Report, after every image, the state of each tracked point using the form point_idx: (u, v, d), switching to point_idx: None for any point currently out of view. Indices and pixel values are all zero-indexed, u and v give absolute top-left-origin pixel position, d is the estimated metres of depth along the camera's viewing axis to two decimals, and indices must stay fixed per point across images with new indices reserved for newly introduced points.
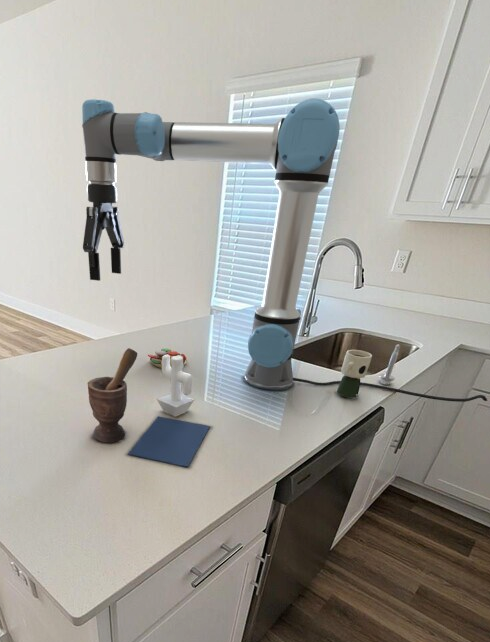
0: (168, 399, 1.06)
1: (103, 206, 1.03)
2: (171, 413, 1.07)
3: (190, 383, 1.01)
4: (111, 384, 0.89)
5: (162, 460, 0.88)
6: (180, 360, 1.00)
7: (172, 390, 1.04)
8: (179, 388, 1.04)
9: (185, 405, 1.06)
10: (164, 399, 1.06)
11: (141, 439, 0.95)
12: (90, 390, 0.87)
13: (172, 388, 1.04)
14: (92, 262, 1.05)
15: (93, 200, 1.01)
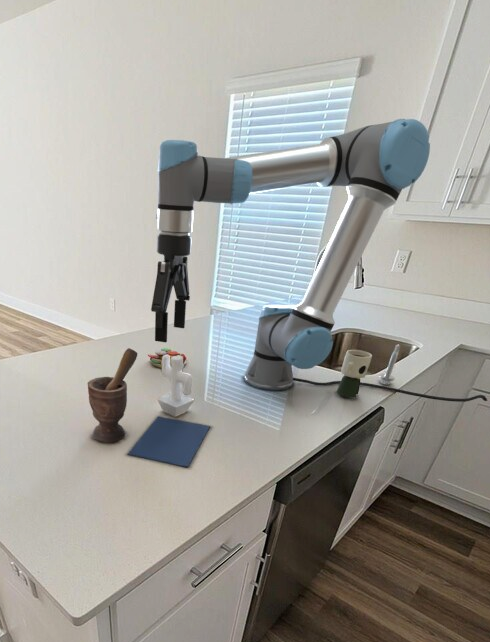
0: (168, 399, 1.06)
1: (175, 259, 0.88)
2: (171, 413, 1.07)
3: (190, 383, 1.01)
4: (111, 384, 0.89)
5: (162, 460, 0.88)
6: (180, 360, 1.00)
7: (172, 390, 1.04)
8: (179, 388, 1.04)
9: (185, 405, 1.06)
10: (164, 399, 1.06)
11: (141, 439, 0.95)
12: (90, 390, 0.87)
13: (172, 388, 1.04)
14: (160, 323, 0.90)
15: (165, 253, 0.86)
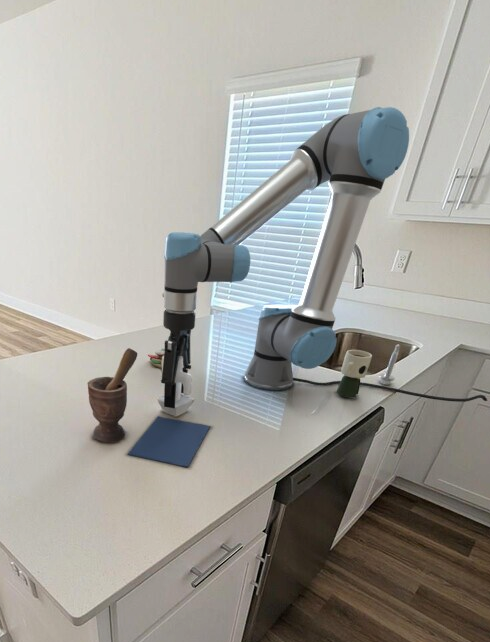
0: None
1: (180, 333, 0.95)
2: (171, 413, 1.07)
3: (190, 383, 1.01)
4: (111, 384, 0.89)
5: (162, 460, 0.88)
6: (180, 360, 1.00)
7: None
8: (179, 388, 1.04)
9: (185, 405, 1.06)
10: None
11: (141, 439, 0.95)
12: (90, 390, 0.87)
13: None
14: (169, 393, 0.99)
15: (171, 329, 0.93)
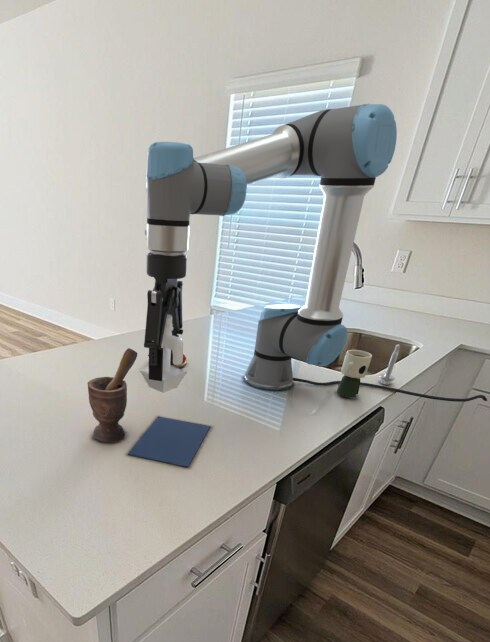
0: None
1: (168, 282, 0.75)
2: (158, 388, 0.86)
3: (181, 349, 0.81)
4: (111, 384, 0.89)
5: (162, 460, 0.88)
6: (168, 319, 0.79)
7: None
8: (168, 357, 0.84)
9: (176, 378, 0.86)
10: None
11: (141, 439, 0.95)
12: (90, 390, 0.87)
13: None
14: (154, 360, 0.79)
15: (156, 276, 0.73)
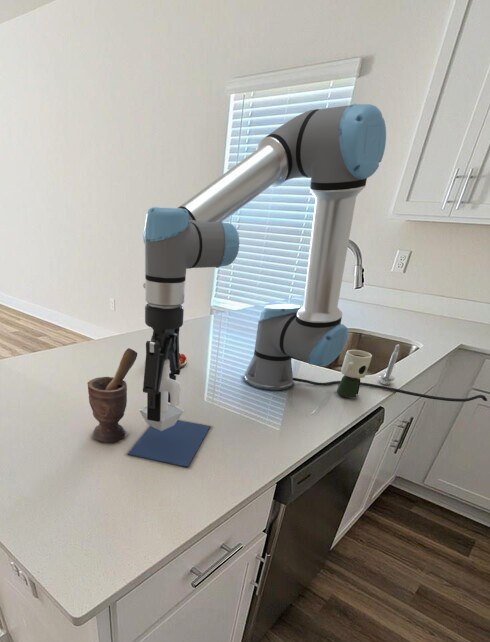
0: None
1: (166, 332, 0.78)
2: (156, 427, 0.90)
3: (178, 392, 0.85)
4: (111, 384, 0.89)
5: (162, 460, 0.88)
6: (166, 364, 0.83)
7: None
8: (165, 397, 0.88)
9: (173, 417, 0.89)
10: None
11: (141, 439, 0.95)
12: (90, 390, 0.87)
13: None
14: (152, 404, 0.83)
15: (154, 327, 0.77)
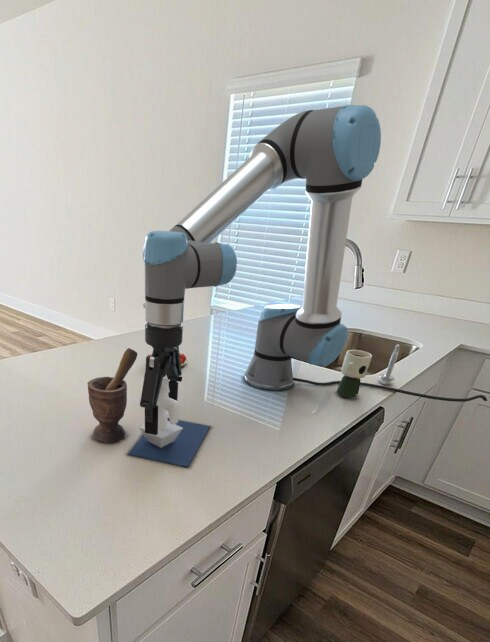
0: None
1: (165, 350, 0.80)
2: (156, 444, 0.93)
3: (177, 411, 0.87)
4: (111, 384, 0.89)
5: (162, 460, 0.88)
6: (165, 384, 0.86)
7: None
8: (165, 416, 0.90)
9: (172, 435, 0.92)
10: None
11: (141, 439, 0.95)
12: (90, 390, 0.87)
13: None
14: (150, 418, 0.83)
15: (154, 345, 0.79)
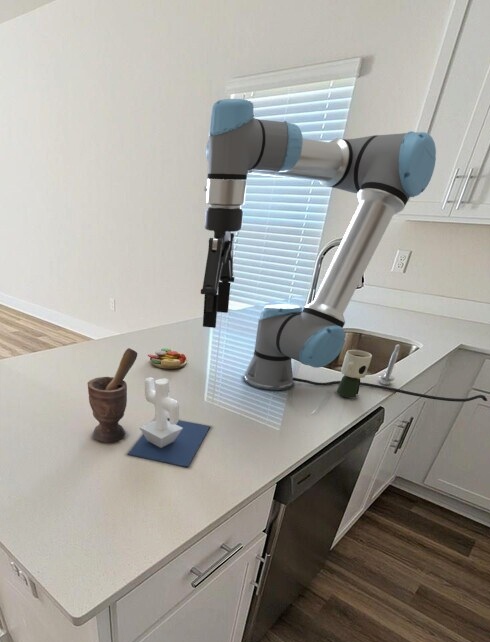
0: (152, 428, 0.92)
1: (226, 235, 0.81)
2: (156, 444, 0.93)
3: (177, 411, 0.87)
4: (111, 384, 0.89)
5: (162, 460, 0.88)
6: (165, 384, 0.86)
7: (157, 418, 0.90)
8: (165, 416, 0.90)
9: (172, 435, 0.92)
10: (148, 428, 0.92)
11: (141, 439, 0.95)
12: (90, 390, 0.87)
13: (157, 416, 0.90)
14: (210, 306, 0.83)
15: (215, 229, 0.79)
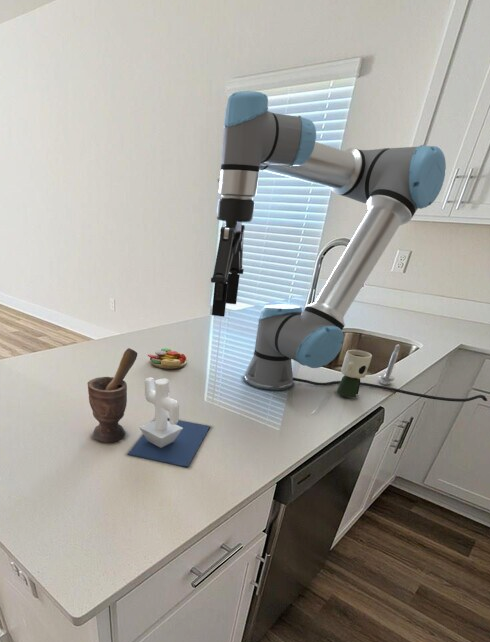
0: (152, 428, 0.92)
1: (237, 226, 0.82)
2: (156, 444, 0.93)
3: (177, 411, 0.87)
4: (111, 384, 0.89)
5: (162, 460, 0.88)
6: (165, 384, 0.86)
7: (157, 418, 0.90)
8: (165, 416, 0.90)
9: (172, 435, 0.92)
10: (148, 428, 0.92)
11: (141, 439, 0.95)
12: (90, 390, 0.87)
13: (157, 416, 0.90)
14: (220, 295, 0.84)
15: (227, 218, 0.81)
